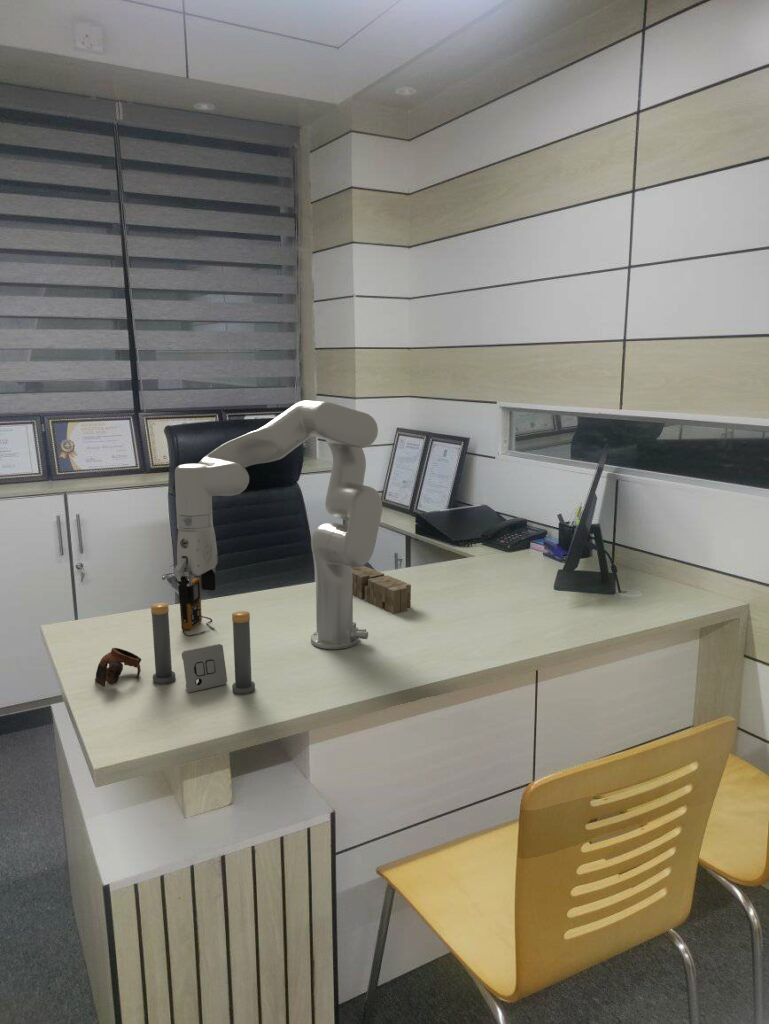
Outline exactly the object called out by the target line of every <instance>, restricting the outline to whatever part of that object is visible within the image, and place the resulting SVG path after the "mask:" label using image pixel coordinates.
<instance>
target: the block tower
mask: <svg viewBox="0 0 769 1024" xmlns="http://www.w3.org/2000/svg"><path fill="white" fill-rule="evenodd" d="M351 570H352V576H353V597H355V598H357V599H358V600H364V602H366V603H369V604H371V605H372V606H375V607H377V608H379V609H384V611H386V612H388V613H390V614H391V615H396V614H400V613H404V612H407V611H408V609H411V605H412V604H411V603H412V602H411V599H412V598H411V597H412V594H411V593H412V585H411V584H410V583H407V582H405V581H403V580H401V579H399V578H395V577H393V576H390V575H389V574H388V575H385V573H384V572H380V571H378V570H376V569H372V568H370V567H367V566H366V565H364V566H361V567H351Z"/></svg>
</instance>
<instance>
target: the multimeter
mask: <svg viewBox="0 0 769 1024" xmlns="http://www.w3.org/2000/svg"><path fill="white" fill-rule="evenodd" d="M189 572H191V571H189ZM188 578H189V576H186V579H187V580H188ZM177 586H178V585H177ZM192 586H194V603H193V604H186V603H180V602H179V609H180V623H181V625H180V627H181V630H182V633H183V634H184V635H185V636H187V637H193V636H198V635H201V634H205V633H206V632H209V631H211V629H212V630H214V631H218V630H217V629H216V628H215V627H213V626H212V625H210V624H209V623H211V622H212V620H213V619H212V618H211V617H207V616H203V615H202V594H201V578H200V577H198V576H196V577H194V578H193V582H192ZM178 589H179V586H178ZM178 598H179V597H178ZM179 600H180V598H179ZM203 618H205V619H209V620H210V621H208V622H206V625H207V626H208V627H209V628H210V629H208V630H203V631H199V632H196V633H193V634H186V632H185V631H193V629H194V628H195V627H197V626H198V625H200V624H201V623H202V620H203Z"/></svg>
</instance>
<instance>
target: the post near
mask: <svg viewBox="0 0 769 1024" xmlns="http://www.w3.org/2000/svg"><path fill="white" fill-rule="evenodd" d="M250 614H251V613H250V612H249V611H246V610H239V611H238V610H237V611H235V612H232V613H231V617H232V618H231V620H232V621H231V622H232V631H233V632H232V633H233V634H232V635H233V636H232V637H233V658H234V659H233V660H234V682H233V684H232V686H231V688H232V690H231V691H232V693H233V694H234V695H238V696H245V695H246V694H247V695H250V694H253V693H254V692H255V691H256V683H255V682H254V681H253V680H252V658H251V656H252V655H251V654H252V653H251V629H250V628H251V625H250V620H251V617H250V616H251V615H250ZM254 690H255V691H254Z"/></svg>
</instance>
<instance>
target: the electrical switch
mask: <svg viewBox="0 0 769 1024" xmlns="http://www.w3.org/2000/svg"><path fill="white" fill-rule="evenodd" d="M181 659H182V661H183V662H182V663H183V669H184V670H183V671H184V678H185V690H186V691H187V692H188V693H193V692H197V691H201V690H206V689H210V688H214V687H219V686H223V685H226V684H227V683H228V676H227V675H228V674H227V667H226V661H225V652H224V646H223V645H222V644H221V643H216V644H210V645H206V646H201V647H196V648H191V649H186V650H183V651H182V652H181ZM197 680H198V681H197Z"/></svg>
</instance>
